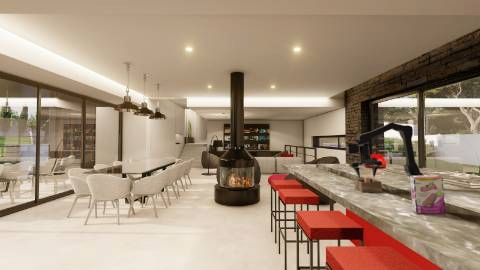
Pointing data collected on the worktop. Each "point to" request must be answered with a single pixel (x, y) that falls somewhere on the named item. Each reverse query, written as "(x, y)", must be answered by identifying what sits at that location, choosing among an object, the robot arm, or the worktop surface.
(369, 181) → the peg
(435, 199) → the candy bar box
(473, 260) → the worktop surface
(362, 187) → the bored tray
